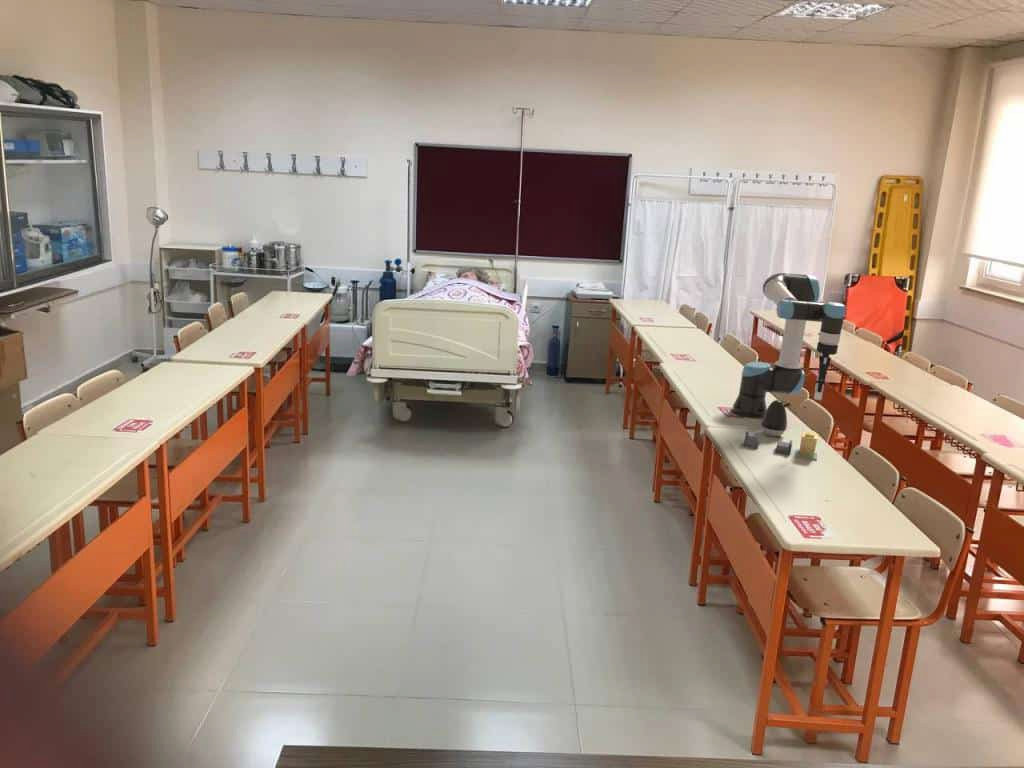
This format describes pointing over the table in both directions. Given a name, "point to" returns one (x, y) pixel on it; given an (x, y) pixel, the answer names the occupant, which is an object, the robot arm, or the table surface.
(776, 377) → the robot arm
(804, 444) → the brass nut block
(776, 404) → the pump dispenser
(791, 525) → the table surface
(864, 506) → the table surface
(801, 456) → the rubber pad
